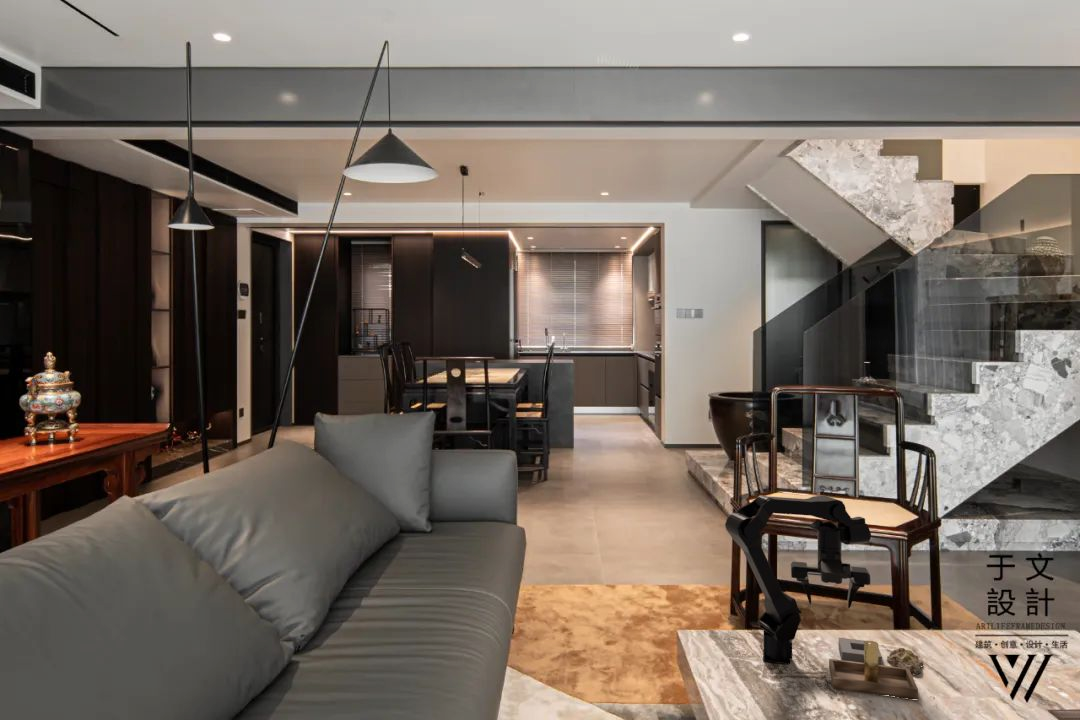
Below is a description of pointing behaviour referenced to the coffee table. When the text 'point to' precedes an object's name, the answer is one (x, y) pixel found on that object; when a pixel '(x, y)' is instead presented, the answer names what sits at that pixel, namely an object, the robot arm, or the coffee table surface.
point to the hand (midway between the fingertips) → (829, 605)
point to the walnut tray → (889, 682)
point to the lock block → (854, 650)
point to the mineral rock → (905, 660)
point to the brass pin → (871, 661)
